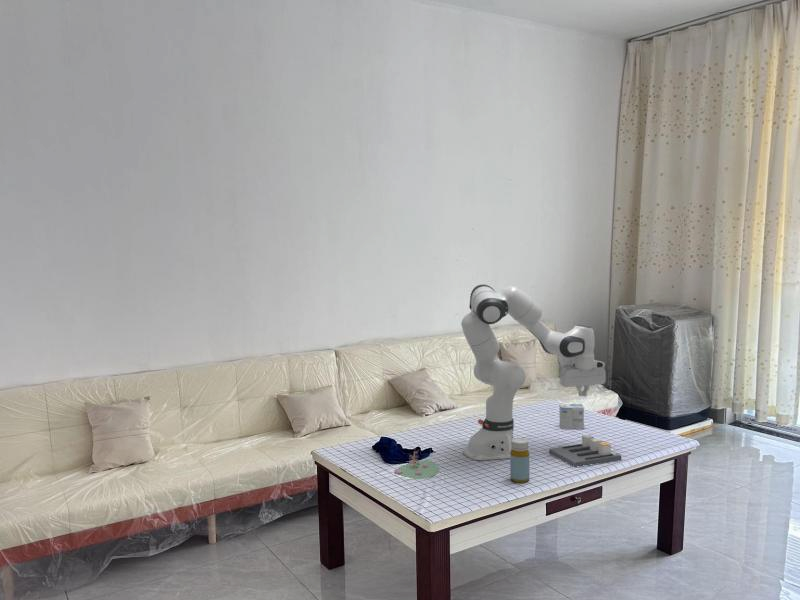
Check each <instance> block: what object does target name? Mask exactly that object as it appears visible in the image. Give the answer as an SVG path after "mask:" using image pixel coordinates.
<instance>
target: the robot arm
mask: <svg viewBox="0 0 800 600" xmlns="http://www.w3.org/2000/svg"><path fill="white" fill-rule="evenodd" d="M469 298H470V299H469V307H468V308H469V309H470V312H469V313H467V314H466V315H464V316H463V318H462V319H461V323H460V324H461V325H460V326H461V328H462V332H463V335H464V337H465V340H466V342H467V343H468V346H469V348H470V350H471V352H472V353H473V356H474V357H475V359H474V360H475V361H476V362H475V364H474V365H473V374H474V377H475V379H477V380H478V381H480V382H481V383H484V384H485V385H489V386H493V392H492V395H491V396H489V397H488V398H487V399H486V402H485V419H484V420H483V419H481V418H479V419H478V420H477V423H478V424H479V425H482V426H481V427H480V429H479V430H478V431H476V432H475V433H474V434H473V435H471V437H470V438H469V441H468V444H467V447H464V448H463V450H462V453H463V454H464V455H465V456H466V457H468V458H469V459H471V460H474V461H489V460H502V459H503V460H505V459H510V452H511V449H512V448H511V447H512V446H511V440H512V439H514V428H515V427H514V426H515V425H514V418H513V409H514V406H513V405H514V398H515V396H516V393H517V392H518V390H519V389H521V388H522V387H523V386H524V384H525V382H526V379H527V377H526V372H525V370H524V369H523V367H521V366H519V365H517V364H516V363H513V362H510V361H509V362H508V361H505V360H501V359H500V358H499V356H498V354H499V351H500V350H501V349H500V347H501V346H500V344H499V342H498V340H497V338H496V335H495V333H494V332H493V330H492V327H491V326H490V325H494V324H497V323H498V322H500V321H501V320H502V319H503V318H504V317H506V316H507V315H509V316H510V317H511V318H513V320H515V321H516V322H517V323H519V324H520V325H521V326H523V327H524V328H526V329H527V330H528V331H529V332H530V333H531V334H532V335H533V336H534V337H535V338H536V339H537V340H538V341H539V343H540V346H541V348H542V349H543V351H544V352H545V353H547V354H549V355H556V356H559V357H562V358H569V359H570V358H572V363H571V364H570V363H569V364H564V365H562V367H561V369H560V370H561V373H560V380H559V384H560V385H561V387H564V388H571V387H576V390H577V392H578V396H579V397H586V396H587V395H588V391H589V389H590V386H594V385H595V386H597V385H604V384H606V376H607V375H606V374H607V373H606V369H605V366H606V363H605V362H603V361H600V360H598V359H595V353H594V349H595V344H596V343H595V332H594V329H593V328H592V327H591V326H587V325H582V324H576V325H574V327H573V328H572V329H570V330H569V331H566V332H565V333H564V332H559V331H556V330H552V329H550V328H549V327H547V326H546V325H545V324H544V323H543V322H542V320H541V318H542V314H543V309H542V307H541V306H540V304H539V303H538V302H537V301H536V300H535V299H534V298H533V297H531V296H530V295H529V294H528V293H527V292H525V291H524V290H522V289H520V288H519V287H517V286H514V285H509V286H506V287H505V288H503V289H502V290H501V291H500V292H496V291H495V290H494V288H493V287H492V286H490V285H487V284H478V285H476V286H475V287H474V288H473V289H472V290H471V293H470V297H469ZM583 387H584V389H583Z"/></svg>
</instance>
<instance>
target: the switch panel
mask: <svg viewBox="0 0 800 600" xmlns="http://www.w3.org/2000/svg"><path fill="white" fill-rule="evenodd" d="M599 443H603V440H602V439H600V438H598V437H597V438H594V436H593V435H591V434H586V435H585V434H584V435H581V443H580V444H572V445H571V444H570V445H565V446H558V447H551V448H549V449H548V450H549V451H548V454H549V453H550V455H551V456H553V457H555V458H557V459H558V458H559V459H558V460H560V459H561V460H560V461H562V460H563V461H562V462H564V461H565V462H567V463H568V464H567V463H566V464H567V465H569V464H570V465H569V466H571V465H572V466H571V467H573V466H574V467H575V468H578V467H577V466H582V467H584V466H583V465H588V466H591V465H590V464H594V465H597V464H596V463H601V464H605V463H604V462H607V463H612V462H611V461H613V462H619V461H622V455H621V454H619V453H617V452H615V451H613V450H611V454H608V455H600V454H598V446H599ZM618 460H619V461H618ZM565 462H564V463H565ZM574 467H573V468H574Z"/></svg>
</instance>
